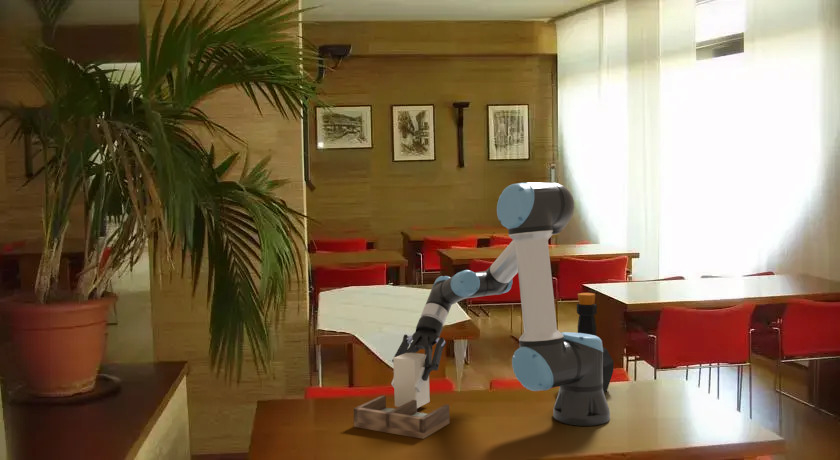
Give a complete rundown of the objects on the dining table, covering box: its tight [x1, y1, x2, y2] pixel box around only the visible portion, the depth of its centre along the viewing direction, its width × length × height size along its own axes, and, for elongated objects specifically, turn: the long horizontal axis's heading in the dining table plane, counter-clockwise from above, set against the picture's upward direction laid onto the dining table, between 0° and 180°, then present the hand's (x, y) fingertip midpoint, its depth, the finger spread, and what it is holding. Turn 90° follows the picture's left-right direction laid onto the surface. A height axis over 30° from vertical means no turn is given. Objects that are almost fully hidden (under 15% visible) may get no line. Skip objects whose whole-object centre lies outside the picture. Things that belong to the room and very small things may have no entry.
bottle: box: [576, 292, 615, 393], centre depth 231 cm, size 16×16×30 cm
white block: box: [392, 352, 431, 409], centre depth 216 cm, size 7×8×14 cm
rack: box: [353, 395, 451, 440], centre depth 201 cm, size 22×14×5 cm, turn 60°
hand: (405, 387), depth 213 cm, fingers closed on white block, 7 cm apart
